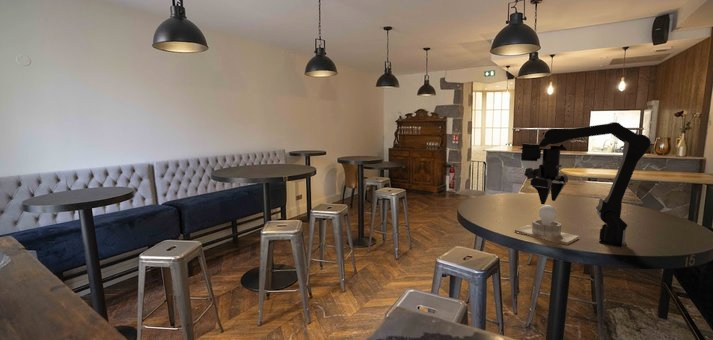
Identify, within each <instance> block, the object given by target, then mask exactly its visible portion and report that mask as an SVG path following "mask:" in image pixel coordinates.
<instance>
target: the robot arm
mask: <svg viewBox="0 0 713 340" xmlns="http://www.w3.org/2000/svg"><path fill="white" fill-rule="evenodd" d="M610 134H611V135H612V136H614V138H616V139H618V140H619V141H621V142H622V143H623V147H622V159H621V162H620V164H619V166H618V169H617V172H616V175H615V177H614V180H613V182H612V184H611V187H610V189H609V192H608V195H606V197H605V198H604V199H603V198H599V201H598V204H597V206H596V207H595V209H596V214H597V216H598V217H599V219H600V220H601V221H602V222H603V224H602V226H601V228H600V230H599V237H598V238H599V242H598V243H601V244H605V245H610V246H612V247H613V246H615V247H619V248H622V247H623V246H625V245H626V244H627V241H625V240H626V232H627V228H628V224H627V223H626V222H625V220H623V219H622V218H621V215H622V207H623V206H622V205H623V204H622V203H623V199H624V196H625V193H626V190H627V189H628V187H629V184H630V182H631V178H632V177H633V175H634V172H635V169H636V167H637V164H638V162H639V161H640V160H641V159H642V158H643V157H644V156H645V154H646V152H647V151H648V150H649V148H650V146H651V143H652V141H651V139H650V138H649V137H648V136H647V135H644V134H637V133H636V132H634V131H632V130H631V129H629V128H627V127H625V126H623V125H622V124H621V123H619V122H609V123H603V124H595V125H590V126H589V125H588V126H582V127H581V126H580V127H575V128H549V129H547V130H546V131H545V132H544V134H543V138H542V139H541V140H540V141H539V142H538V143H522V146H521V152H520V153H521V154H520V155H521V156H520V161H521V162H538V160H542V161H541V163H540V164H539V165H538V168H535V169H534V168H532V167H528V168H525V170H524V176H525V177H526V179H527V180H530V184H529V185H530V186H532V188H534V189H535V190H536V192H537V194H538V197H539V201H540V204H541V205H546V202H547V200H548V199H549V196H551V197H550V198H551V201H553V202H556V200H557V199H558V198H559V195H560V194H561V192H562V190H563V189H564V187H565V186H566V185H567V183H568V182H569V177H568V176H567V174H560V168H562V164H561V163H560V162H561V151H567V148H566V147H565V146H564V144H563V143H564V142H567V141H569V140H574V139H579V138H580V139H581V138H589V137H595V136H605V135H610ZM555 144H559V145H555ZM548 146H549V147H548ZM541 156H542V159H541Z"/></svg>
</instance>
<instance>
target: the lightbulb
mask: <svg viewBox="0 0 713 340" xmlns="http://www.w3.org/2000/svg"><path fill="white" fill-rule="evenodd" d="M537 212H538V217H539V218H540V219H541V221H542V225H549V226H551V224H552V222H553V221H555V219H556V217H557V214H558V213H557V209H556V208H555V207H554V206H552V205H550V204H542V206H541V207H540V208H538V211H537Z"/></svg>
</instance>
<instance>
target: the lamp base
mask: <svg viewBox="0 0 713 340" xmlns="http://www.w3.org/2000/svg"><path fill="white" fill-rule="evenodd" d="M516 232H519V233H518V234H520V233H523V234H522V235H524V234H527V235H526V236H528V235H530V236H529V237H532V236H533V237H532V238H536V237H537V239H540V238H541V240H544V239H545V241H549V242H553V241H554V243H557V242H558V243H557V244H562V245H566V246H567V245H570V244H572V243H574V242H575V241H577V240H579V239H580V236H579V235H576V234H572V233H567V232H562V224H561V222H559V221H555V220H553V222H552V224H551V226H549V225H542V221H541V218H540V219H534V220H532V224H527V225H524V226H521V227H519V228H516V229H514V233H516Z"/></svg>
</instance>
